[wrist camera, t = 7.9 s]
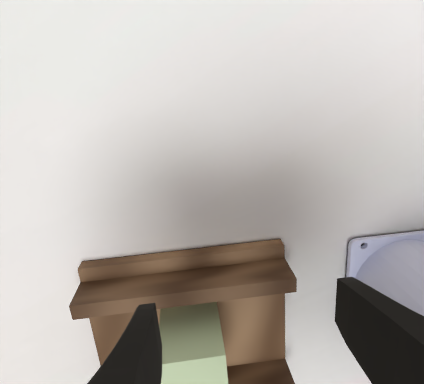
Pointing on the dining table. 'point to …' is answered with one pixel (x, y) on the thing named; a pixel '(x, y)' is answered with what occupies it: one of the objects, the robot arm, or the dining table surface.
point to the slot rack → (199, 300)
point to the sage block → (192, 345)
